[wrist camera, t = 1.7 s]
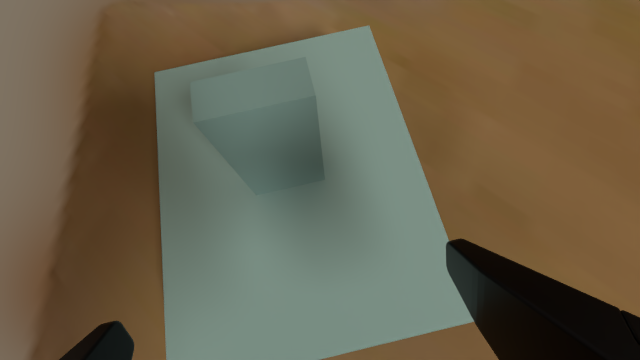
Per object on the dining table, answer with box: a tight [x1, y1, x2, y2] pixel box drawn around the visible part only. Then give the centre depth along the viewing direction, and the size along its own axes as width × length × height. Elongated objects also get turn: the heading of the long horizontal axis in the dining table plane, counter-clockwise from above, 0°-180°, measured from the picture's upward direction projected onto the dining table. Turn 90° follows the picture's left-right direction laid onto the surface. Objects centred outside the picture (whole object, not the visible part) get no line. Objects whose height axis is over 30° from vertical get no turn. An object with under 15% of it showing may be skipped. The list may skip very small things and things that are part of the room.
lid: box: [155, 26, 474, 360], centre depth 14 cm, size 19×15×10 cm
